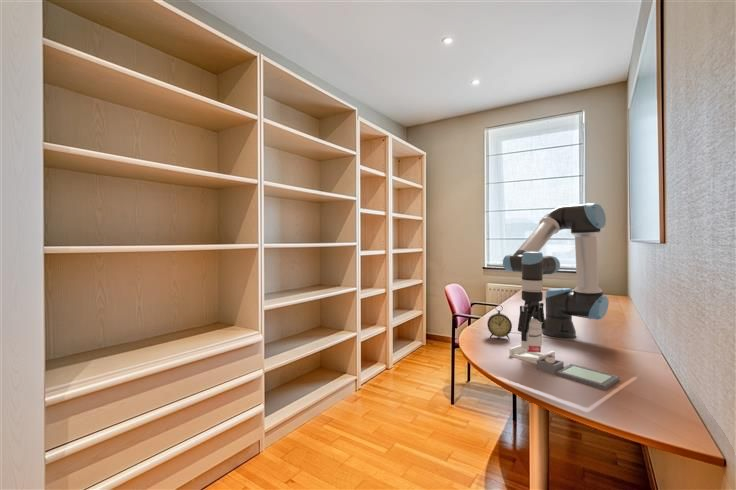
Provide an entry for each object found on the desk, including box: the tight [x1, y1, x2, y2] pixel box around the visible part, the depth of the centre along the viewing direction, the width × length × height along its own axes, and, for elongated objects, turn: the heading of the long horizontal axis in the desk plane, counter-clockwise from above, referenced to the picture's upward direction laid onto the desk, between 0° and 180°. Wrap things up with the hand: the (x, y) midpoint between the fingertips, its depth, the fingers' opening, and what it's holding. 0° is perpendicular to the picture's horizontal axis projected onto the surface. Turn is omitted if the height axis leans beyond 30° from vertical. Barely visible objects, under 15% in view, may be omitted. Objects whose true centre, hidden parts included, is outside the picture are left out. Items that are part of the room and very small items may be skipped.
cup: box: [536, 357, 565, 375], centre depth 124 cm, size 6×6×4 cm
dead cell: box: [545, 355, 556, 365], centre depth 124 cm, size 3×3×5 cm
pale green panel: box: [562, 366, 612, 384], centre depth 116 cm, size 9×12×1 cm
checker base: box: [554, 363, 620, 391], centre depth 116 cm, size 12×15×2 cm
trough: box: [509, 344, 556, 365], centre depth 136 cm, size 11×13×4 cm
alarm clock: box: [486, 304, 513, 340], centre depth 167 cm, size 11×5×16 cm, turn 73°
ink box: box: [527, 317, 542, 353], centre depth 136 cm, size 9×5×12 cm, turn 168°
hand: (531, 346), depth 136 cm, fingers closed on ink box, 9 cm apart
